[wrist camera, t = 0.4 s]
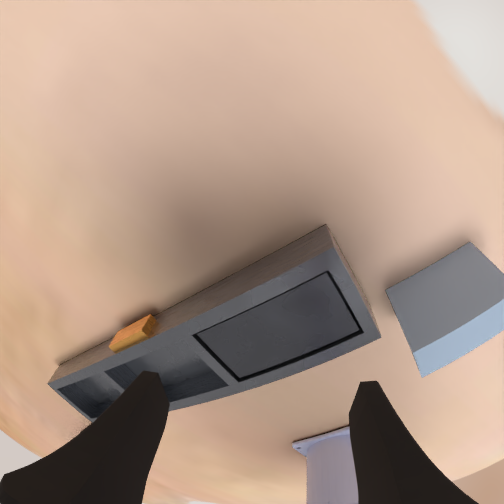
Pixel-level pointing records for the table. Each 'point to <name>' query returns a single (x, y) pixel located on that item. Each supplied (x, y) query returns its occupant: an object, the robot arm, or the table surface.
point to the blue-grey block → (450, 307)
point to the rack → (233, 332)
